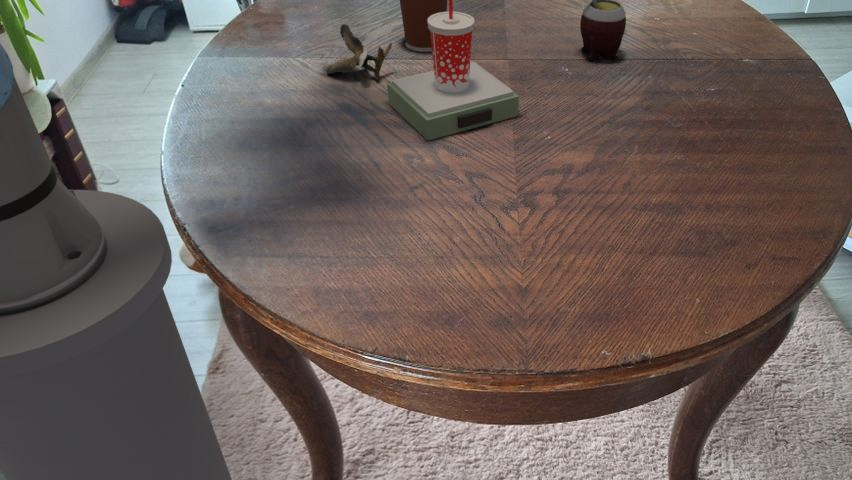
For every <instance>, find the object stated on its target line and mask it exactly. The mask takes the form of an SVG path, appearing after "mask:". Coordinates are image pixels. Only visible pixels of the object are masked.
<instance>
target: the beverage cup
mask: <svg viewBox="0 0 852 480" xmlns="http://www.w3.org/2000/svg"><path fill="white" fill-rule="evenodd" d="M453 2H454V1H453V0H448V11H447V12H440V13H436V14H433V15H431V16H430V17H429V18H428V21H427V24H428V29H429V30H430V36H431V46H432V51H431V55H432V56H431V57H432V66H433V67H432V68H433V70H434V77H435V87H436V88H437V89H438V90H440V91H442V92H446V93H458V92H462V91H464V90H466V89H467V88H468V87H469V74H470V62H471V56H472V55H471V54H472V41H473V40H472V39H473V30H475V18H474V17H473V16H472V15H470V14H468V13H465V12H460V11H454V9H453V7H454V6H453V5H454V3H453Z"/></svg>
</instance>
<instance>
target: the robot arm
mask: <svg viewBox="0 0 852 480" xmlns="http://www.w3.org/2000/svg"><path fill="white" fill-rule="evenodd" d="M51 160H52V159H51V158H50V155H49V154H48V152H47V148H46V147H45V144H44V142H43V140H42V137H41V135H40V132H39V130H38V128H37V126H36V123H35V121H34V118H33V116H32V114H31V111H30V110H29V107H28V105H27V103H26V100H25V98H24V96H23V93H22V91H21V88H20V87H19V84H18V82H17V80H16V77H15V73H14V66H13V63H12V61H11V58H10V55H9V53H8V52H7V51H6V49H5V48H4V46H3V45H2V44H1V43H0V316H3V315H10V314H15V313H20V312H24V311H28V310H31V309H34V308H37V307H40V306H43V305H46V304H48V303H51V302H53V301H55V300H57V299H59V298H61V297H63V296H65V295H67V294H69V293H70V292H72V291H74V290H75V289H77V288H78V287H80V286H81V285H82V284H84V283H85V282H86V281H87V280H88V279H90V278H91V277H92V276H93V275H94V274H95V273H96V271H97V270H98V269H99V268H100V266H101V265H102V263H103V261H104V259H105V257H106V254H107V241H106V238H105V236H104V233H103V231H102V229H101V226H100V225H99V223H98V222H97V220H96V219H95V217H94V216H93V215H92V214H91V213H90V212H89V211H88V210H87V209H86V208H85V207H84V206H83V205H82V203H81V202H80V201H79V200H78V199H77V198H76V195H75V193H74V190H75V189H73V188H71V189H68V188H67V186H66V185H64V183H63V182H62V181H61V180H60V178H59V176H58V175H57V173H56V171H55V168H54V165H53V163H52V161H51Z"/></svg>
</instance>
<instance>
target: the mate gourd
mask: <svg viewBox="0 0 852 480" xmlns="http://www.w3.org/2000/svg"><path fill="white" fill-rule="evenodd" d="M626 17H627V16H626V11H625V8H624V7H623V5H622V4H621V3H620V2H619V1H616V0H590V1H589V2H588V3H587V4H586V5H585V7H584V8H583V10H582V13H581V17H580V23H579V26H580V27H579V28H580V29H579V30H580V36H581V39H582V46H581V52H582V53H586V54H590V56H589V58H588V62H591V63H593V62H595V61H596V60H598V59H599V58H605V59H608V60H612V61H617V60H618V58H619V56H618V55H617V54H618V52H619V49H620V47H621V44H622V41H623V37H624V34H625V31H626V26H627V18H626Z"/></svg>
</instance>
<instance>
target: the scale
mask: <svg viewBox="0 0 852 480" xmlns="http://www.w3.org/2000/svg"><path fill="white" fill-rule="evenodd" d="M386 86H387V87H386V88H387V101H388V105H390V106H391V107H392V108H393V109H394V110H395V111H396V112H397V113H398V114H399V115H400V116H401V117H402V118H403V119H405V121H407V122H408V124H410V126H412V127H413V128H414V129H415V130H416V132H418V133H419V134H420V135H421V136H422V138H424V139H425V140H426V141H433V140H436V139H439V138H443V137H447V136H451V135H454V134H458V133H462V132H465V131H468V130H469V131H470V130H473V129H476V128H480V127H483V126H487V125H490V124H494V123H498V122H501V121H505V120H509V119H512V118H516V117H519V102H520V101H519V98H520V96H519V95H518V94H517V93H516V92H515V91H514V90H513V89H511V88H510V87H508V85H506V84H504V83H503V82H502V81H500V80H499V79H498V78H496V77H495V76H494V75H493V74H492V73H490V72H488V70H486V69H484V67H482V66H481V65H479V64H478V63H476V62H475V61H474V60H473V61H470V74H469V87H468V88H467V89H466V90H464V91H462V92H458V93H446V92H442V91H440V90H438V89H437V88H436V87H435V77H434V69H432V70H430V71H426V72H422V73H416V74H412V75H408V76H404V77H399V78H395V79H391V82H388V83H386Z"/></svg>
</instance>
